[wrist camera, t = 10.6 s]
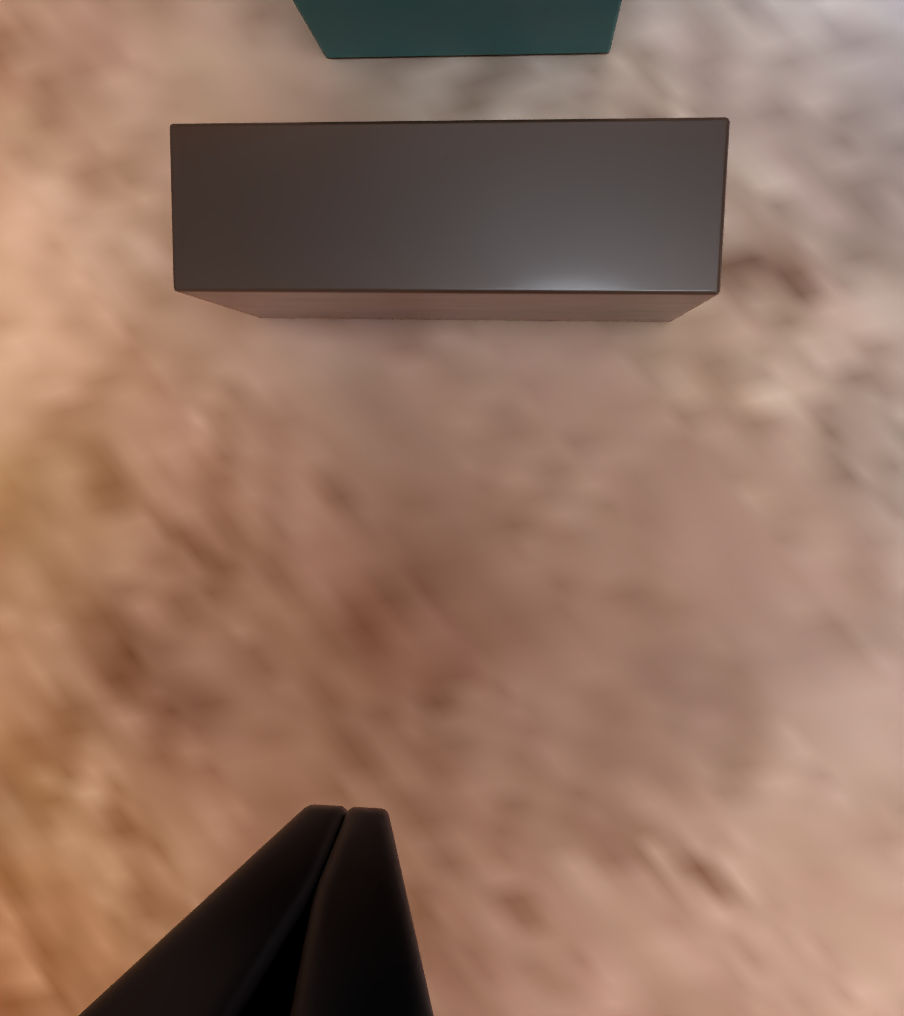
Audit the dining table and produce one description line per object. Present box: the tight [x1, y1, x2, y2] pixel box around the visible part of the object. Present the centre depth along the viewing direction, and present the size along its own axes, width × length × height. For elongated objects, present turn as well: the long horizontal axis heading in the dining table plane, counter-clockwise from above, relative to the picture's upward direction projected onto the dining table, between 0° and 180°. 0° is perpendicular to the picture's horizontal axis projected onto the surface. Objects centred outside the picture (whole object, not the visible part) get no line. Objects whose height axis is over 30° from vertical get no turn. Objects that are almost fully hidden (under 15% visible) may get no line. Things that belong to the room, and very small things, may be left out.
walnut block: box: [170, 117, 730, 322], centre depth 17 cm, size 3×10×5 cm, turn 89°
